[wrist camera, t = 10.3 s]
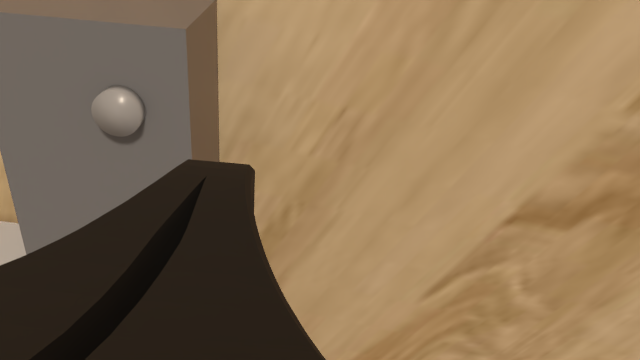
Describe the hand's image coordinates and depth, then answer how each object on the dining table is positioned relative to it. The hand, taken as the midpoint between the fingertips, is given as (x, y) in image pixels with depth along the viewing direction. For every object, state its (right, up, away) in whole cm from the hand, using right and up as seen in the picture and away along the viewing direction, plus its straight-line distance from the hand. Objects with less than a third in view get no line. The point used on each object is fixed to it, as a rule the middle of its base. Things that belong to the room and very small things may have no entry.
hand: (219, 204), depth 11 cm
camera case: (-5, +3, +10) cm, 11 cm away
